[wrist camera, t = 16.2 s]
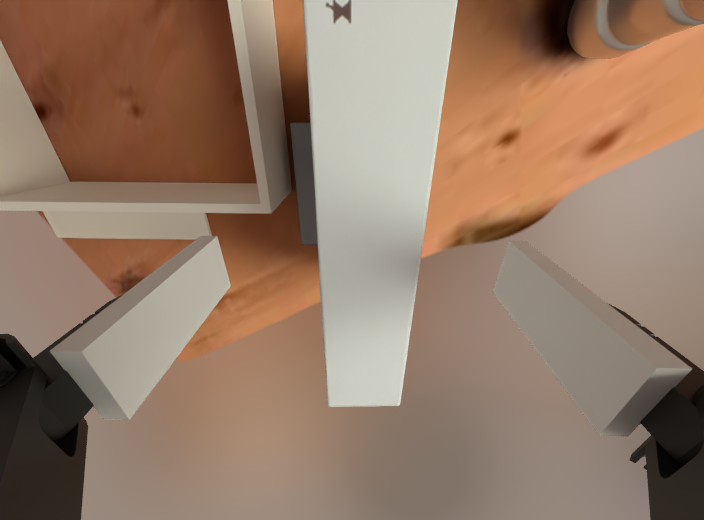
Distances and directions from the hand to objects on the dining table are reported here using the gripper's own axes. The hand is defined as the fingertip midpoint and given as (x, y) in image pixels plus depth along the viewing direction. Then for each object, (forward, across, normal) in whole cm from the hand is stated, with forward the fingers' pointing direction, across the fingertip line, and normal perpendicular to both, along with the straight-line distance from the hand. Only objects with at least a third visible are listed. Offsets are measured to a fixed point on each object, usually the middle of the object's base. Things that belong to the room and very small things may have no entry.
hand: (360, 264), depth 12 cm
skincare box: (+16, 0, -1) cm, 16 cm away
